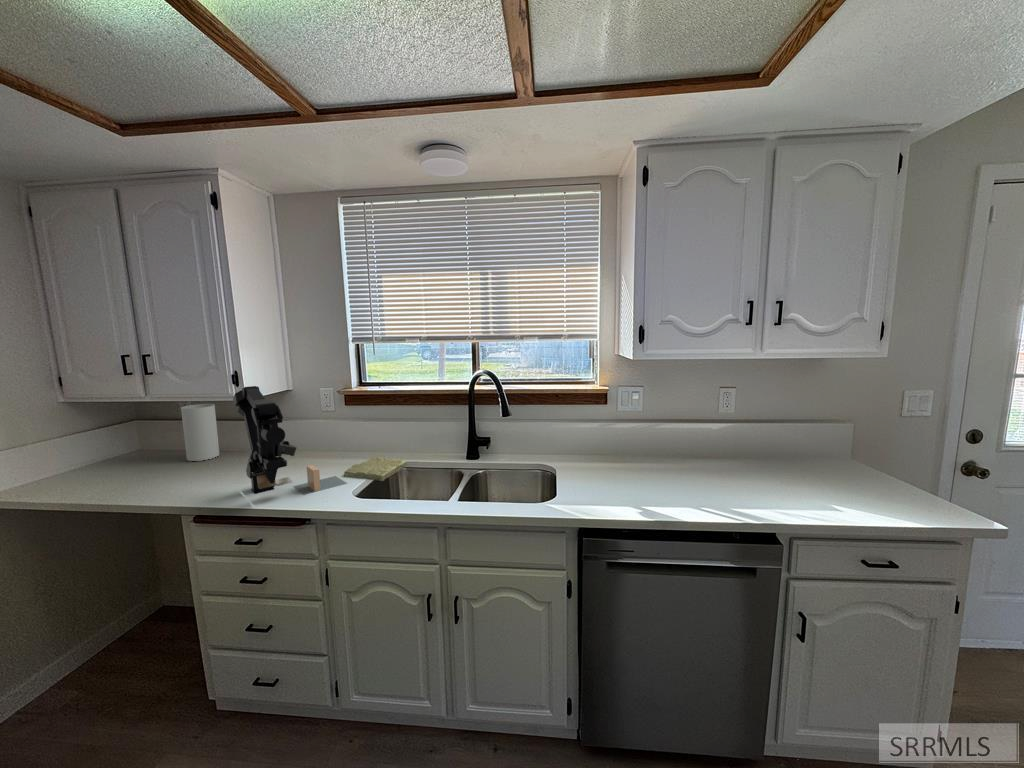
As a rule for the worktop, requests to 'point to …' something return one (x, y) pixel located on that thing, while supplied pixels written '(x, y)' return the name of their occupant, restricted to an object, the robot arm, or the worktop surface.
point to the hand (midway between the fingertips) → (271, 482)
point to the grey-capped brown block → (264, 483)
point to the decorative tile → (376, 468)
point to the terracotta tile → (313, 478)
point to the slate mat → (321, 485)
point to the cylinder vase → (200, 432)
